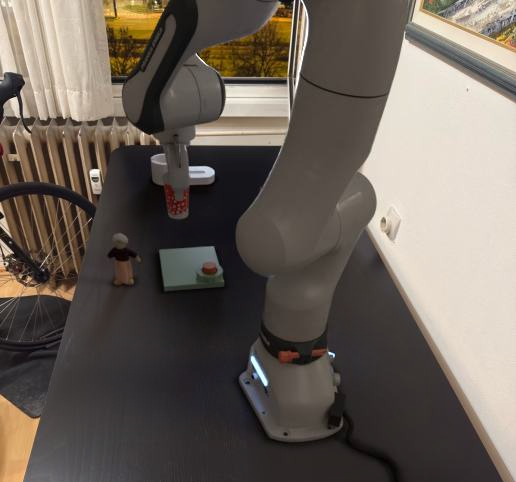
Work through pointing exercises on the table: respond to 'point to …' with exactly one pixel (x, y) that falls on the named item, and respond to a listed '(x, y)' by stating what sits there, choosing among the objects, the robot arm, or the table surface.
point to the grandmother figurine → (122, 260)
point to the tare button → (209, 268)
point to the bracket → (197, 173)
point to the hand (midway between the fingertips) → (177, 191)
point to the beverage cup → (175, 207)
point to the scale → (189, 268)
